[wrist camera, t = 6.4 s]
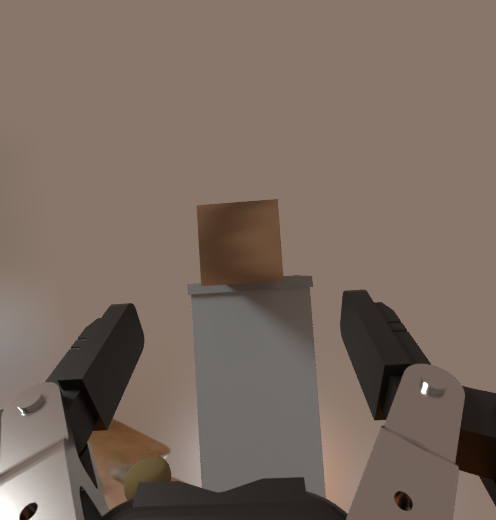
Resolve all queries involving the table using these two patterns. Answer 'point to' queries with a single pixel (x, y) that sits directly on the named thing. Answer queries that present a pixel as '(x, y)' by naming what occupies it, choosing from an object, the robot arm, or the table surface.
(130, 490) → the cork
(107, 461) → the table surface
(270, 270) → the walnut bar
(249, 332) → the stand
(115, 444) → the table surface
